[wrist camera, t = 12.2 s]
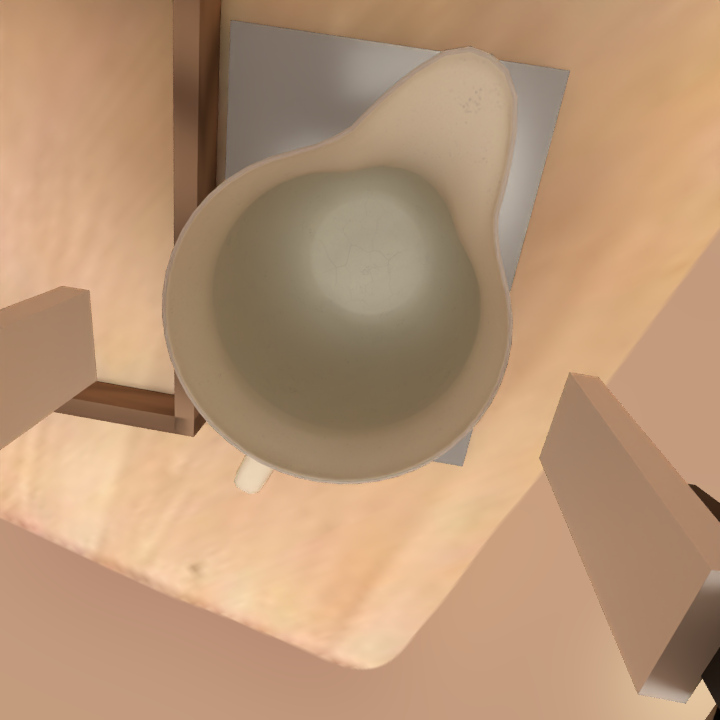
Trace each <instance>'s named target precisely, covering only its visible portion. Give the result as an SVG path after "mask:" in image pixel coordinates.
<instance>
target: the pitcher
mask: <svg viewBox="0 0 720 720" xmlns="http://www.w3.org/2000/svg"><path fill="white" fill-rule="evenodd" d="M516 133H517V93H516V90H515V87H514V85H513V82H512V79H511V76H510V73H509V70H508V69H507V68H506V67H505V66H504V65H503V64H502V63H501V62H500V61H499V60H498V59H497V58H496V57H494V56H493V55H492V54H490V53H488V52H485V51H482V50H480V49H477V48H475V47H472V46H469V47H462V48H455V49H449V50H444V51H442V52H441V53H439V54H437V55H436V56H434V57H432V58H431V59H429V60H427V61H426V62H424V63H422V64H421V65H419V66H417V67H416V68H414V69H413V70H411V71H410V72H409V73H408V74H407V75H405V76H404V77H403V78H402V79H400V80H399V81H398V82H397V83H396V84H394V85H393V86H392V87H391V88H390V89H388V90H387V91H386V92H385V93H384V94H383V95H382V96H381V97H380V98H379V99H378V100H376V101H375V102H374V103H373V104H372V105H371V106H370V107H369V108H368V109H367V110H366V111H365V112H364V113H363V114H362V115H361V116H360V117H359V118H358V119H357V120H356V121H355V123H354V124H353V125H352V126H350V127H349V128H347V129H345V130H344V131H342V132H340V133H339V134H337V135H335V136H333V137H331V138H328V139H326V140H324V141H321V142H319V143H317V144H313V145H310V146H306V147H303V148H299V149H295V150H292V151H288V152H285V153H281V154H278V155H274V156H271V157H268V158H266V159H263V160H261V161H259V162H256V163H254V164H252V165H249V166H247V167H245V168H244V169H242V170H240V171H239V172H237V173H236V174H234V175H232V176H231V177H229V178H228V179H226V180H225V181H224V182H222V183H221V184H220V185H219V186H218V187H217V188H216V189H214V190H213V191H212V192H211V193H210V194H209V195H208V196H207V197H206V198H205V199H204V200H203V201H202V203H201V204H200V205H199V206H198V207H197V208H196V209H195V211H194V212H193V213H192V215H191V216H190V218H189V220H188V221H187V223H186V224H185V226H184V227H183V229H182V231H181V233H180V235H179V237H178V239H177V241H176V244H175V246H174V248H173V250H172V253H171V257H170V260H169V263H168V267H167V270H166V275H165V281H164V288H163V300H162V318H163V326H164V335H165V340H166V344H167V348H168V352H169V356H170V359H171V362H172V364H173V367H174V369H175V372H176V375H177V377H178V379H179V381H180V383H181V385H182V387H183V388H184V390H185V392H186V394H187V396H188V397H189V399H190V400H191V402H192V403H193V405H194V406H195V407H196V409H197V410H198V412H199V413H200V414H201V415H202V416H203V418H204V419H205V420H206V421H207V422H208V423H209V425H210V426H211V427H212V428H213V429H214V430H215V431H216V432H217V433H219V434H220V435H221V436H222V437H223V438H224V439H225V440H226V441H227V442H229V443H230V444H231V445H233V446H234V447H235V448H237V449H238V450H239V451H241V452H242V453H244V454H245V457H244V459H243V461H242V463H241V465H240V467H239V468H238V470H237V473H236V476H235V480H234V482H235V484H236V486H237V488H239V489H240V490H242V491H244V492H246V493H249V494H254V493H258V492H259V491H260V490H261V488H262V487H263V486H264V484H265V483H266V482H267V480H268V479H269V477H270V475H271V474H272V472H273V470H276V471H279V472H281V473H284V474H287V475H291V476H294V477H297V478H301V479H305V480H310V481H315V482H321V483H332V484H361V483H369V482H377V481H382V480H386V479H390V478H394V477H398V476H401V475H403V474H406V473H409V472H411V471H414V470H417V469H419V468H420V467H422V466H424V465H426V464H428V463H430V462H432V461H434V460H436V459H437V458H438V457H440V456H441V455H443V454H444V453H446V452H447V451H449V450H450V449H451V448H453V447H454V446H455V445H456V444H457V443H458V442H459V441H461V440H462V439H463V438H464V437H465V436H466V435H467V434H468V433H469V432H470V431H471V430H472V428H473V427H474V426H475V425H476V424H477V423H478V422H479V420H480V419H481V418H482V416H483V415H484V413H485V412H486V410H487V409H488V407H489V406H490V404H491V403H492V401H493V399H494V397H495V395H496V393H497V391H498V389H499V387H500V385H501V382H502V379H503V376H504V373H505V370H506V368H507V365H508V360H509V354H510V349H511V344H512V326H513V318H512V308H511V298H510V293H509V289H508V284H507V280H506V275H505V271H504V267H503V263H502V258H501V254H500V245H499V235H498V221H499V212H500V208H501V205H502V201H503V198H504V194H505V190H506V186H507V181H508V177H509V173H510V169H511V163H512V157H513V151H514V145H515V139H516Z"/></svg>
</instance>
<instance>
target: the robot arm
mask: <svg viewBox="0 0 720 720" xmlns="http://www.w3.org/2000/svg"><path fill="white" fill-rule="evenodd" d="M95 381H97V373H96V362H95V350H94V338H93V326H92V314H91V303H90V291H89V290H83V289H77V288H71V287H65V286H61V287H58V288H56V289H53V290H51V291H48V292H45V293H43V294H40V295H37V296H35V297H32V298H29V299H27V300H24V301H22V302H19V303H16V304H14V305H11V306H8V307H6V308H3V309H1V310H0V450H1V449H2V448H4V447H5V446H7V445H8V444H9V443H11V442H12V441H13V440H15V439H16V438H18V437H19V436H20V435H22V434H23V433H25V432H26V431H27V430H29V429H30V428H32V427H33V426H34V425H36V424H37V423H38V422H40V421H41V420H43V419H44V418H45V417H47V416H48V415H50V414H51V413H52V412H54V411H55V410H56V409H58V408H59V407H61V406H62V405H63V404H65V403H66V402H68V401H69V400H70V399H72V398H73V397H75V396H76V395H77V394H79V393H80V392H81V391H83V390H84V389H86V388H87V387H88V386H90V385H91V384H93V383H94V382H95ZM539 459H540V461H541V464H542V466H543V468H544V471H545V473H546V476H547V478H548V480H549V482H550V485H551V487H552V490H553V492H554V495H555V497H556V499H557V502H558V504H559V507H560V509H561V511H562V514H563V516H564V518H565V521H566V523H567V526H568V528H569V530H570V533H571V535H572V538H573V540H574V543H575V545H576V547H577V550H578V552H579V555H580V557H581V559H582V562H583V564H584V567H585V569H586V571H587V574H588V576H589V578H590V581H591V583H592V586H593V588H594V590H595V593H596V595H597V598H598V600H599V602H600V605H601V607H602V610H603V612H604V614H605V617H606V619H607V622H608V624H609V626H610V629H611V631H612V633H613V636H614V638H615V641H616V643H617V646H618V648H619V650H620V653H621V655H622V657H623V660H624V662H625V665H626V667H627V669H628V672H629V674H630V676H631V679H632V681H633V684H634V686H635V688H636V691H637V693H638V695H643V696H649V697H654V698H659V699H664V700H669V701H675V702H680V703H686V702H687V701H688V699H689V698H690V696H691V695H692V693H693V692H694V690H695V689H696V687H697V686H698V684H699V683H700V681H701V680H702V679H703V680H704V682H705V684H706V686H707V688H708V690H709V691H710V693H711V695H712V697H713V699H714V700H715V702H716V705H715V706H714V708H713V709H712V711H711V712H710V714H709V715H708V716H707V718H706V719H705V720H720V503H719V502H717V501H716V500H715V499H713V498H712V497H711V496H710V495H708V494H707V493H705V492H704V491H703V490H701V489H700V488H699V487H697V486H696V485H691V484H687V483H686V482H685V480H684V479H683V478H682V477H681V475H680V474H679V473H678V472H677V471H676V469H675V468H674V467H673V466H672V465H671V464H670V462H669V461H668V460H667V459H666V457H665V456H664V455H663V454H662V453H661V451H660V450H659V449H658V448H657V447H656V445H655V444H654V443H653V442H652V441H651V440H650V438H649V437H648V436H647V435H646V433H645V432H644V431H643V430H642V429H641V427H640V426H639V425H638V424H637V423H636V421H635V420H634V419H633V418H632V417H631V416H630V414H629V413H628V412H627V411H626V409H625V408H624V407H623V406H622V405H621V403H620V402H619V401H618V400H617V399H616V398H615V396H614V395H613V394H612V393H611V392H610V390H609V389H608V388H607V387H606V386H605V384H604V383H603V382H602V381H601V380H600V378H599V377H594V376H589V375H583V374H577V373H571V372H569V375H568V378H567V381H566V384H565V387H564V389H563V392H562V395H561V398H560V401H559V404H558V406H557V409H556V412H555V415H554V418H553V421H552V424H551V426H550V429H549V432H548V435H547V438H546V441H545V443H544V446H543V449H542V452H541V455H540V458H539Z"/></svg>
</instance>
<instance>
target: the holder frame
mask: <svg viewBox="0 0 720 720" xmlns="http://www.w3.org/2000/svg"><path fill="white" fill-rule="evenodd" d="M220 13H221V0H173V97H174V246H175V244H176V241H177V239H178V237H179V235H180V233H181V231H182V229H183V227H184V226H185V224H186V223H187V221H188V220H189V218H190V216H191V215H192V213H193V212H194V211H195V209H196V208H197V207H198V206H199V205H200V204H201V203H202V201H203V200H204V199H205V198H206V197H207V196H208V195H209V194H210V193H211V192H212V191H213V190H214V189H216V156H217V121H218V85H219V49H220ZM174 374H175V395H171V394H165V393H159V392H154V391H148V390H142V389H137V388H131V387H125V386H119V385H114V384H108V383H102V382H97V381H95V382H94V383H93V384H91V385H90V386H88V387H87V388H86V389H84V390H83V391H81V392H80V393H79V394H77V395H76V396H75V397H73V398H72V399H70V400H69V401H68V402H66V403H65V404H63V405H62V406H61V407H59V408H58V409H56V410H55V411H54V412H57V413H63V414H68V415H74V416H79V417H85V418H91V419H96V420H102V421H107V422H113V423H119V424H124V425H130V426H135V427H141V428H147V429H152V430H158V431H163V432H169V433H174V434H180V435H186V436H191V437H194V436H195V435H196V433H197V432H198V431H199V430H200V428H201V427H202V426H203V425H204V423H205V422H206V420H205V419H204V418H203V416H202V415H201V414H200V413H199V412H198V410H197V409H196V407H195V406H194V405H193V403H192V402H191V400H190V399H189V397H188V396H187V394H186V392H185V390H184V388H183V387H182V385H181V383H180V381H179V379H178V377H177V375H176V372H175V369H174Z"/></svg>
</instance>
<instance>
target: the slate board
mask: <svg viewBox="0 0 720 720" xmlns="http://www.w3.org/2000/svg"><path fill="white" fill-rule="evenodd" d="M439 53H441V51H435V50H428V49H421V48H415V47H408V46H401V45H395V44H388V43H381V42H375V41H368V40H361V39H355V38H348V37H341V36H334V35H328V34H321V33H314V32H308V31H301V30H294V29H288V28H281V27H274V26H268V25H261V24H254V23H248V22H241V21H234V20H231V26H230V54H229V83H228V112H227V140H226V169H225V180H226V179H228V178H229V177H231V176H232V175H234V174H236V173H237V172H239V171H240V170H242V169H244V168H245V167H247V166H249V165H252V164H254V163H256V162H259V161H261V160H263V159H266V158H268V157H271V156H274V155H278V154H281V153H285V152H288V151H292V150H295V149H299V148H303V147H306V146H310V145H313V144H317V143H319V142H321V141H324V140H326V139H328V138H331V137H333V136H335V135H337V134H339V133H340V132H342V131H344V130H345V129H347V128H349V127H350V126H352V125H353V124H354V123H355V121H356V120H357V119H358V118H359V117H360V116H361V115H362V114H363V113H364V112H365V111H366V110H367V109H368V108H369V107H370V106H371V105H372V104H373V103H374V102H375V101H376V100H378V99H379V98H380V97H381V96H382V95H383V94H384V93H385V92H386V91H387V90H388V89H390V88H391V87H392V86H393V85H394V84H396V83H397V82H398V81H399V80H400V79H402V78H403V77H404V76H405V75H407V74H408V73H409V72H410V71H411V70H413V69H414V68H416V67H417V66H419V65H421V64H422V63H424V62H426V61H427V60H429V59H431V58H432V57H434V56H436V55H437V54H439ZM499 61H500V62H501V63H502V64H503V65H504V66H505V67H506V68H507V69H508V70H509V73H510V76H511V79H512V82H513V85H514V87H515V90H516V93H517V133H516V139H515V145H514V151H513V157H512V163H511V169H510V173H509V177H508V181H507V186H506V190H505V194H504V198H503V201H502V205H501V208H500V212H499V221H498V235H499V245H500V254H501V258H502V263H503V267H504V271H505V275H506V280H507V284H508V289H509V293H510V290H511V287H512V283H513V279H514V275H515V272H516V268H517V264H518V261H519V257H520V253H521V250H522V246H523V242H524V239H525V235H526V231H527V228H528V224H529V220H530V217H531V213H532V209H533V206H534V202H535V198H536V195H537V191H538V187H539V183H540V180H541V176H542V172H543V169H544V165H545V161H546V158H547V154H548V150H549V147H550V143H551V139H552V136H553V132H554V128H555V125H556V121H557V117H558V114H559V110H560V106H561V103H562V99H563V95H564V91H565V88H566V84H567V80H568V77H569V73H570V71H569V70H562V69H555V68H548V67H542V66H535V65H528V64H522V63H515V62H508V61H502V60H499ZM472 430H473V428H472ZM472 430H471V431H470V432H469V433H468V434H467V435H466V436H465V437H464V438H463V439H462V440H461V441H459V442H458V443H457V444H456V445H455V446H454V447H453V448H451V449H450V450H449V451H447V452H446V453H444V454H443V455H441V456H440V457H438V458H437V459H436V460H434V461H435V462H440V463H446V464H452V465H457V466H463V463H464V459H465V456H466V452H467V448H468V445H469V441H470V437H471V434H472Z"/></svg>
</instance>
